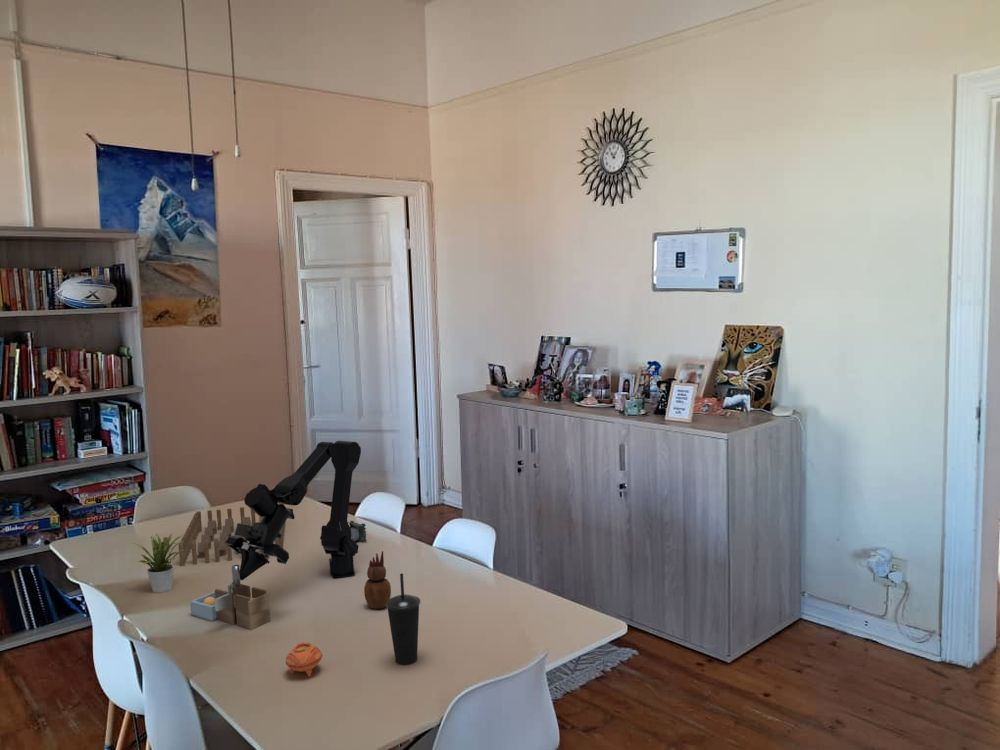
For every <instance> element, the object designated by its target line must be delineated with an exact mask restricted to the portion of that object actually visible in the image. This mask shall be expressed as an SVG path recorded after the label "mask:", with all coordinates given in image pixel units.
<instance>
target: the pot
mask: <svg viewBox="0 0 1000 750" xmlns="http://www.w3.org/2000/svg"><path fill="white" fill-rule="evenodd" d="M322 658H323V653H322V650H321V649H319V647H317V646H315V645H313V644H311V643H310V642H300V643H298V644H296V645H295V646H294V647H293V648H292V649H291V650H290V651H289V653H288V654H287V655H286V657H285V664H286V666H287V667H288V670H289V671H290V673H292V674H294V673H295V672H301V673H302V672H305V673H306V674H307V676H308V678H311V676H312V671H313V669H315V667H317V666H318V665H319V663H320V662H321V660H322Z"/></svg>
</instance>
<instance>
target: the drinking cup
mask: <svg viewBox="0 0 1000 750" xmlns="http://www.w3.org/2000/svg"><path fill="white" fill-rule="evenodd" d="M399 578H400V579H399V580H400V594H399V595H398V594H397V595H395V596H393V597H390V599H389V600H387V601H386V607H385V608H387V613H388V614H387V615H388V620H389V628H390V632H391V633H390V634H391V639H392V646H393V653H394V658H395V663H396V664H398V665H401V666H402V665H403V666H405V665H406V666H407V665H411V664H414V663H415V662H417V660H418V646H419V645H418V644H419V643H418V642H419V617H420V616H419V615H420V605H421V599H420V598H419V597H418V596H417V595H412V594H405V584H404V573H399Z"/></svg>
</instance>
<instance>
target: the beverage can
mask: <svg viewBox="0 0 1000 750" xmlns="http://www.w3.org/2000/svg"><path fill="white" fill-rule="evenodd" d="M347 522H348V524H349V527H350V529H351V539H352V540H353V541H354V542H356V541H358V542H360V543H366V542H367V531H366V530H367V528H366V523H358V522H355V521H354V520H350V521H347Z"/></svg>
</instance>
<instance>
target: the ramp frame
mask: <svg viewBox="0 0 1000 750" xmlns="http://www.w3.org/2000/svg"><path fill="white" fill-rule="evenodd" d="M231 584H233V582H231ZM240 584H241V586H240V587H239V588H232V602H233V605H231V606H229V607H226V608H224V609H222V610H219V611H216V612H217V620H216V621H220V622H223V623H227V624H230V625H235V624H236V626H238V627H241V628H245V629H248V630H251V631H252V630H255V629H257V628H259V627H261V626H264V625H265V624H267V623H270V622H271V609H270V597H269V595H270V594H269V593H267V590H266V589H262V588H258V587H255V586H253V587H251V586H250V585H247V584H243V583H240ZM214 591H215V599H216V598H218V597H221V596H223V595H225V594H228V590H227V591H226V590H222V589H220V588H219V589H218V588H216V589H214Z"/></svg>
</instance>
